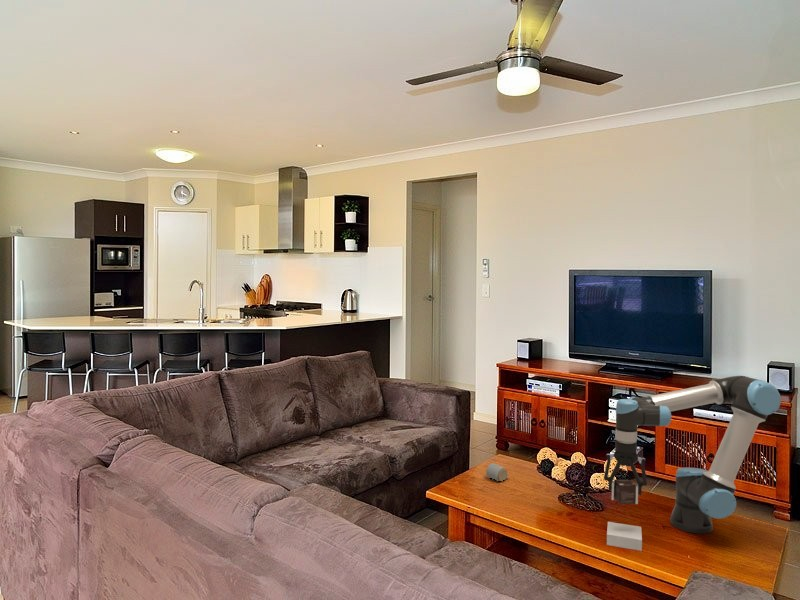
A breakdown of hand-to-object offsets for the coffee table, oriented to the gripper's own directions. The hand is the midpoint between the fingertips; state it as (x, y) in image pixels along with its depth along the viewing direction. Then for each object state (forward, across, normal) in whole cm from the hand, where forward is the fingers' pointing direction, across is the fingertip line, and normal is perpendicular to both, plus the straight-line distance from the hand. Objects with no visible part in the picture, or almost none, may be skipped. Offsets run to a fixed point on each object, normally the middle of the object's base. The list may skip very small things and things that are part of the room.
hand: (624, 500), depth 211 cm
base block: (+15, 0, 0) cm, 15 cm away
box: (0, 0, 0) cm, 0 cm away
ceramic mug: (+16, +58, -46) cm, 76 cm away
